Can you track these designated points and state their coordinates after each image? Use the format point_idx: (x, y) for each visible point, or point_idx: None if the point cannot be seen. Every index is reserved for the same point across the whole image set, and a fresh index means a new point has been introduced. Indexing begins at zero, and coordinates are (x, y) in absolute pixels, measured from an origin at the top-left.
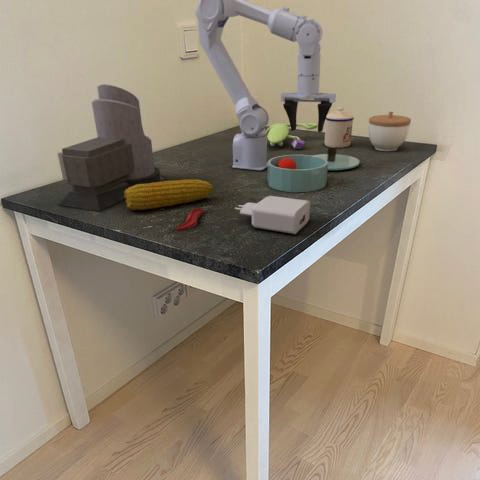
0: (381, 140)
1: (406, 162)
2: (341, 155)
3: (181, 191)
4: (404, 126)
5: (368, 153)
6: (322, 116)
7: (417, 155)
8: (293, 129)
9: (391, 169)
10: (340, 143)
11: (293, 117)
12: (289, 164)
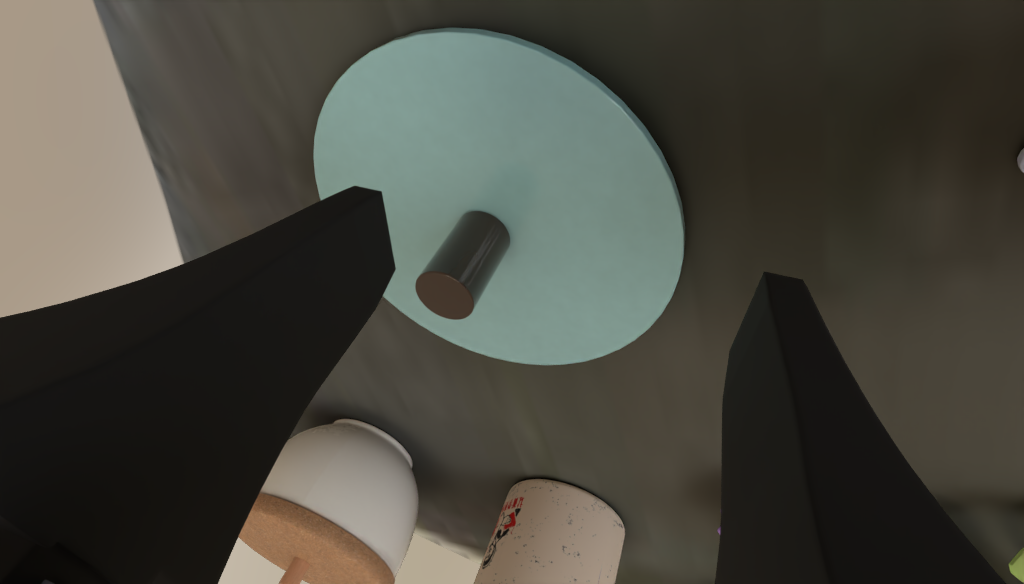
0: (339, 450)
1: None
2: (467, 337)
3: None
4: None
5: (401, 400)
6: (148, 284)
7: None
8: (763, 285)
9: (187, 168)
10: (534, 495)
11: (767, 465)
12: None
